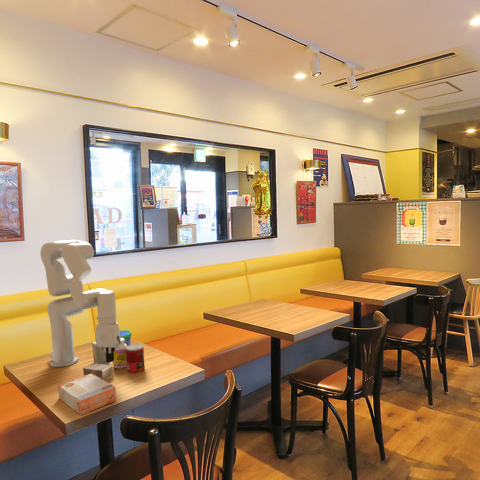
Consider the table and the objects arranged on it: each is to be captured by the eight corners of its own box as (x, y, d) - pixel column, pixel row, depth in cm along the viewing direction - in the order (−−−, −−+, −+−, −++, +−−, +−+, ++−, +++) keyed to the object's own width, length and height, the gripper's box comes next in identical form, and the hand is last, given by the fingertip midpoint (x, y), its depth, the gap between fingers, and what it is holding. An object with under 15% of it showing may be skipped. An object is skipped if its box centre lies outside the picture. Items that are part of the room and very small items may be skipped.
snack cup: (130, 356, 201) (129, 336, 200) (108, 358, 200) (107, 338, 199) (134, 346, 216) (133, 327, 216) (114, 348, 215) (113, 329, 214)
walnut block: (103, 382, 171) (83, 379, 175) (113, 376, 177) (93, 373, 181) (103, 370, 171) (83, 368, 175) (112, 365, 176) (92, 363, 181)
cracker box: (58, 399, 158) (80, 416, 143) (57, 384, 157) (79, 399, 142) (93, 386, 167) (117, 401, 152) (91, 372, 167) (115, 386, 152)
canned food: (140, 373, 179) (138, 349, 178) (123, 373, 180) (122, 349, 179) (147, 367, 186) (146, 344, 185) (131, 366, 188) (130, 343, 187)
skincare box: (107, 363, 193) (105, 338, 192) (109, 366, 189) (107, 340, 188) (93, 366, 189) (91, 341, 188) (95, 369, 186) (93, 343, 185)
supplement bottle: (116, 370, 184) (114, 342, 183) (111, 365, 189) (109, 339, 188) (130, 366, 188) (128, 339, 187) (125, 362, 193) (123, 336, 192)
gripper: (87, 321, 171) (90, 362, 172) (115, 323, 165) (118, 366, 167) (99, 316, 178) (102, 356, 179) (127, 318, 172) (129, 360, 174)
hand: (110, 361), depth 173 cm, fingers closed
